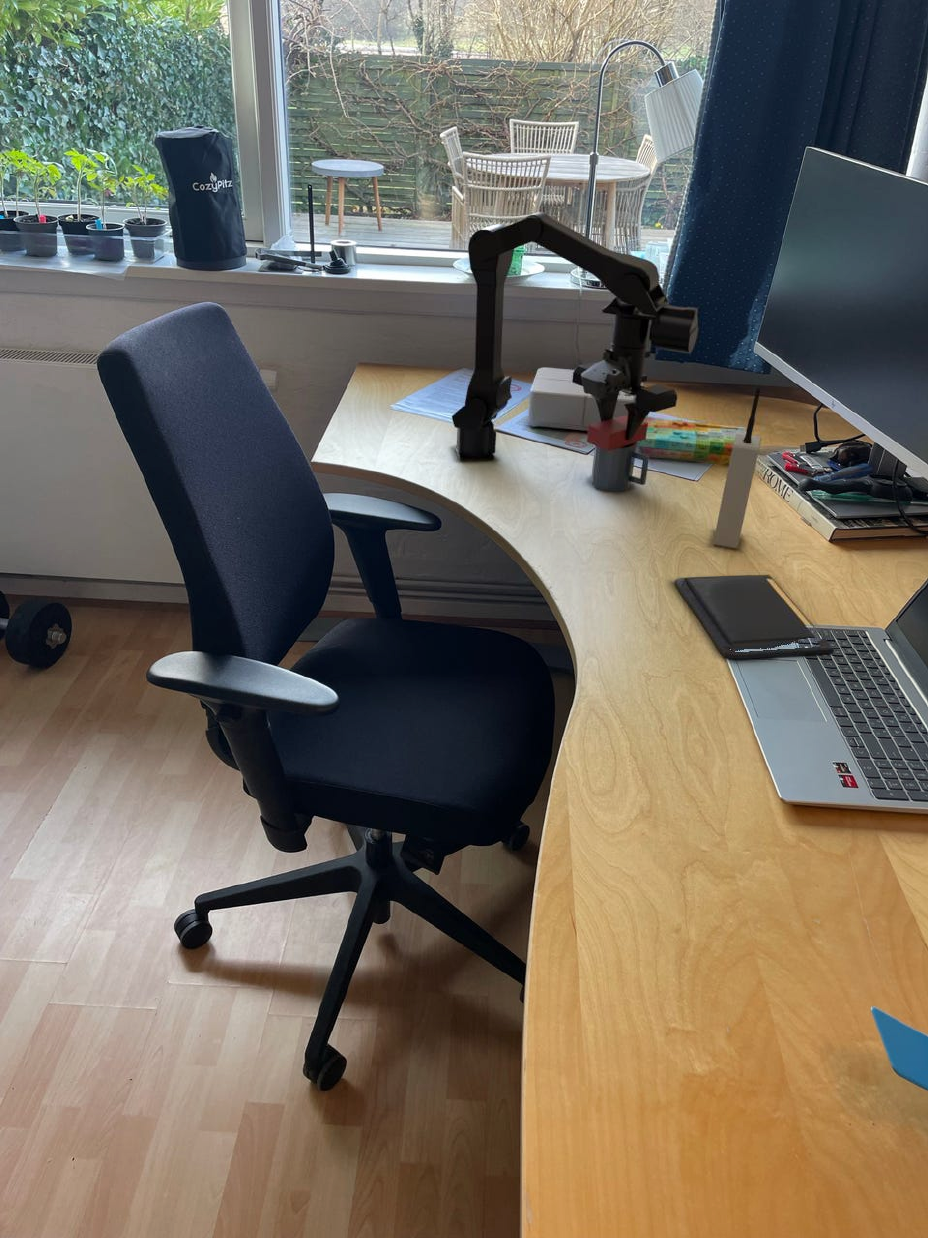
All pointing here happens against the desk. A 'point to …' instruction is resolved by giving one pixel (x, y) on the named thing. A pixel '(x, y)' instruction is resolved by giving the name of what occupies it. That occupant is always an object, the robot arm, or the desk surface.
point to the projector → (566, 402)
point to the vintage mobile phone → (738, 484)
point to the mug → (617, 468)
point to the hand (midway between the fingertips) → (617, 434)
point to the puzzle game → (689, 440)
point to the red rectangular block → (614, 433)
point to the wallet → (748, 615)
